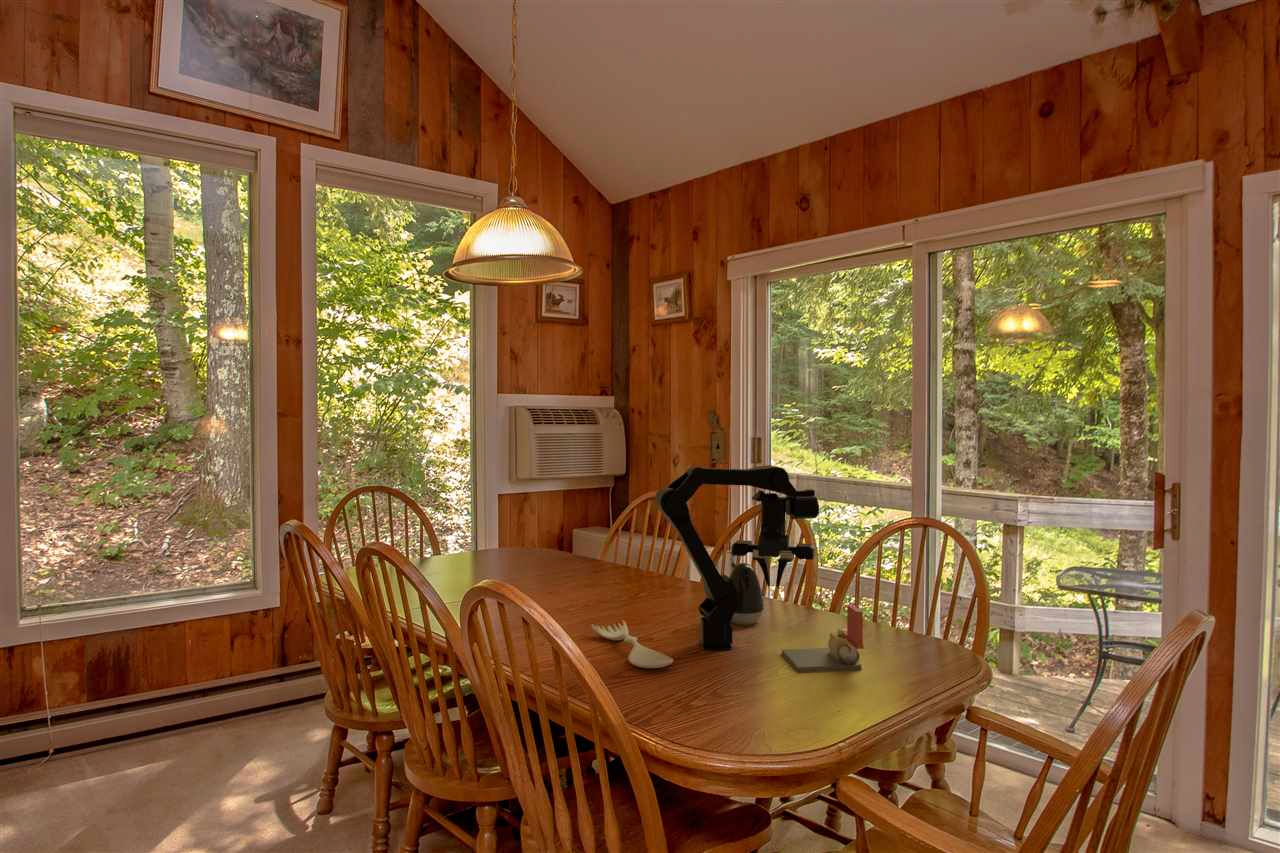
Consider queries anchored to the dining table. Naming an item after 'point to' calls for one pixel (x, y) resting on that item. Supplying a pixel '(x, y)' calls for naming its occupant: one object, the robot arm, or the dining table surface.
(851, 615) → the valve lever
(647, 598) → the dining table surface
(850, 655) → the ball valve
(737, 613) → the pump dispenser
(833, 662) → the mounting board
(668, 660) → the white double-ended utensil part
